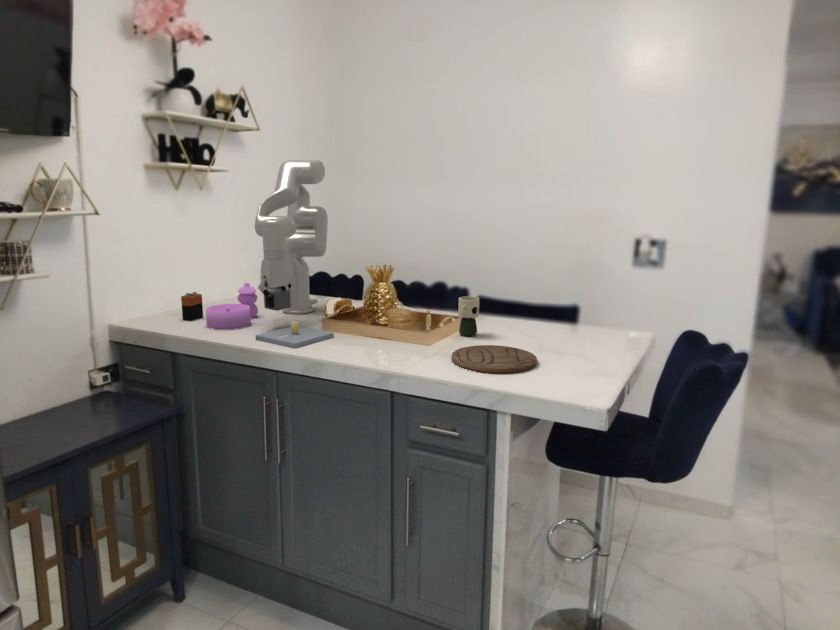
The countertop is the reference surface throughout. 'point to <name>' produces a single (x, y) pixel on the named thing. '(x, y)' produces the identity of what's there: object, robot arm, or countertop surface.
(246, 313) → the container set
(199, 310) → the battery
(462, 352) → the trivet
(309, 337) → the hub panel
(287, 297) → the dark gray cube
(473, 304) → the character mug
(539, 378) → the countertop surface
